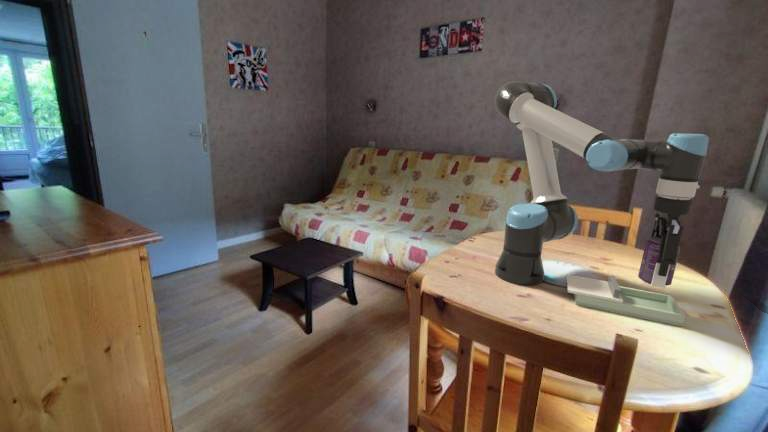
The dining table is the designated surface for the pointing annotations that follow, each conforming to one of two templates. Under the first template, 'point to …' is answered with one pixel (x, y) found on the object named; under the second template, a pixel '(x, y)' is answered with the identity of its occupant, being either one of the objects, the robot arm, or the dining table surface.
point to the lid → (595, 287)
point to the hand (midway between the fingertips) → (653, 280)
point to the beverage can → (653, 261)
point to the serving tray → (639, 305)
